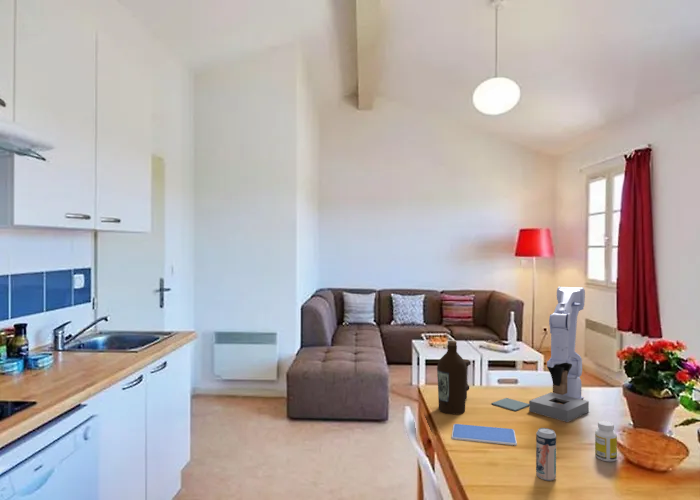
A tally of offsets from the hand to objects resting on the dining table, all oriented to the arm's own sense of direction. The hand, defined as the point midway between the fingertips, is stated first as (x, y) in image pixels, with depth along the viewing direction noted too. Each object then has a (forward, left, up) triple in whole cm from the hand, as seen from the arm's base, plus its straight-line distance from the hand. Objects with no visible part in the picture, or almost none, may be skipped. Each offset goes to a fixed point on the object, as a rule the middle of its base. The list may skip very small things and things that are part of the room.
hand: (559, 384), depth 172 cm
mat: (+7, -15, -10) cm, 19 cm away
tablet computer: (+40, -5, -11) cm, 41 cm away
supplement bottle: (+27, +27, -10) cm, 39 cm away
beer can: (+51, +22, -10) cm, 56 cm away
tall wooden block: (0, 0, -3) cm, 3 cm away
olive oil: (+29, -26, -10) cm, 40 cm away
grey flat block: (0, 0, -10) cm, 10 cm away
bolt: (+15, -31, -10) cm, 36 cm away
